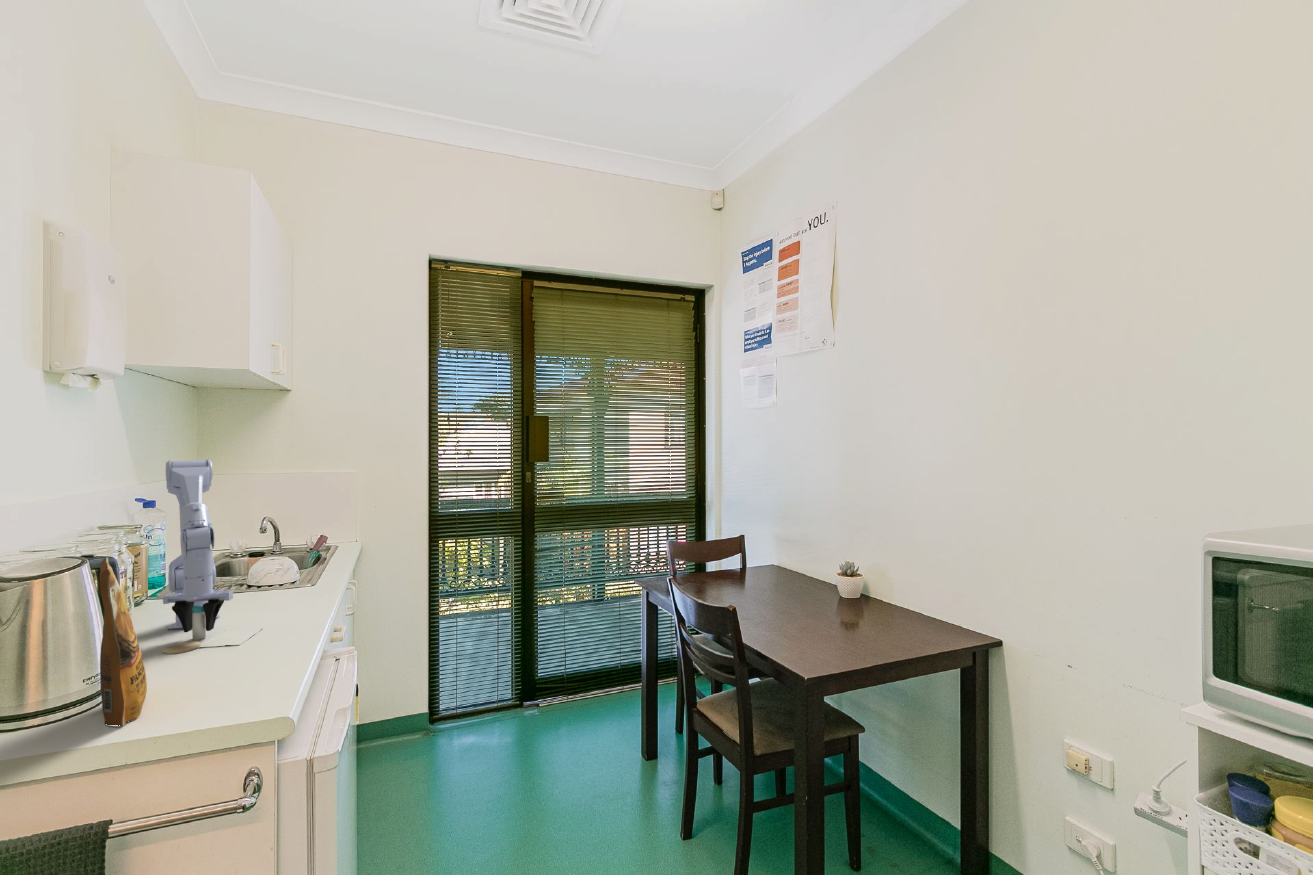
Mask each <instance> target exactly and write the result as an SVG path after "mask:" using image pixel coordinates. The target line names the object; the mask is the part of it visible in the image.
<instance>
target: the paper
mask: <svg viewBox="0 0 1313 875" xmlns="http://www.w3.org/2000/svg"><path fill="white" fill-rule="evenodd" d="M225 631H226V630H224V632H225ZM221 633H222V632H220V633H219V634H221ZM215 639H216V640H215ZM217 639H218V640H217ZM232 639H233V640H232ZM235 639H240V640H235ZM241 639H248V640H250V639H249V638H232V637H231V638H230V637H229V638H228V637H227V638H217V637H215V636H213V637H212V638H210V639H209V640H207V641H206V642H204V643H201V646H199V647H207V648H218V647H217V645H219V646H222V647H226V646H225V645H238V646H241V645H240V644H234V643H243V642H238V641H245V642H247V641H246V640H241ZM217 641H218V642H217ZM222 641H225V642H222ZM232 641H237V642H232ZM214 643H216V644H214ZM223 643H224V644H223ZM225 643H226V644H225ZM232 643H233V644H232ZM243 644H244V643H243ZM213 645H214V646H213ZM215 645H216V646H215ZM199 647H198V648H197V649H200V648H199Z"/></svg>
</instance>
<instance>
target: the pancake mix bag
mask: <svg viewBox="0 0 1313 875" xmlns="http://www.w3.org/2000/svg"><path fill="white" fill-rule="evenodd" d="M99 568H100V572H99V588H100V590H99V591H100V596H101V600H102V601H101V602H102V606H103V611H104V618H103V619H104V620H103V625H102V639H101V643H100V644H101V645H100V652H99V653H100V655H99V656H100V658H99V675H100V681H99V682H100V695H101V696H100V697H101V705H102V706H101V707H102V714H103V717H104V724H107V725H118V726H119V725H120V726H121V727H124V726H125V725H126V724H127V723H126V722H128V721H130V722H132V720H133V721H135V720H137V719H138V718H139V717H140V716H141V713H142V709H143V705H144V702H145V700H144V699H146V695H147V691H148V688H147V686H148V684H147V674H146V667H145V664H144V659H143V654H142V651H141V647H140V643H139V641H137V640H138V637H137V634H136V631H135V627H134V624H133V621H132V616H131V614H130V612H129V610H128V606H127V602H126V600H125V596H124V594H123V591H122V589H121V586H120V584H119V582H118V580H117V577H116V575H115V573H114V571H113V567H112V566H111V565H110V563H109V556H105V557H104V559H103V560H102V561H100V563H99ZM138 643H139V644H138ZM139 715H140V716H139ZM138 716H139V717H138ZM134 719H135V720H134ZM125 723H126V724H125ZM128 723H129V722H128ZM124 724H125V725H124ZM123 725H124V726H123Z"/></svg>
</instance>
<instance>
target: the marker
mask: <svg viewBox="0 0 1313 875" xmlns="http://www.w3.org/2000/svg"><path fill="white" fill-rule="evenodd" d="M191 632H192V641H200V639H201V640H203V638H204V639H206V638H205V637H206V636H207V634H206V632H207V631H206V623H205V612H204V608H203V605H197V606H193V607H192V630H191Z"/></svg>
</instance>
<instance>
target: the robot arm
mask: <svg viewBox="0 0 1313 875" xmlns="http://www.w3.org/2000/svg"><path fill="white" fill-rule="evenodd" d="M213 469H214V468H213V462H212V460H210V458H209V459H208V458H207V459H192V460H188V459H187V460H167V461H166V462H165V481H166V482H165V483H166V489H167V493H169V494H171V495H175V496H176V499H177V503H178V505H179V506H178V507H179V527H180V531H179V532H180V535H179V536H180V537H179V539H180V540H179V541H180V543H179V544H180V555H179V556H178V557H176V558H174V559H173V560H172V561H170V563H169V564H168V572H167V573H168V576H167V579H168V580H167V583H168V590H169V592H171V593H168V594H165V595H163V596H162V604H163V605H168V604H172V603H173V605H172V606H171V609H172V611H173V612H174V613H175V623H173V624H172V625H169V626H168V627H167V629H168V630H173V629H174V630H175V629H182V630H183V633H188V632H190V631H192V607H193V606H197V605H203V608H204V612H205V623H206V632H210V631H212V630H213V629H214V628H215V623H216V620H217V619H218V618H220V617H221V615H220V614H219V611H220V610H221V607H222V606H223V604H224V603H225V601H227V602H228V601H231V600H233V599H234V591H233V590H214V586H215V585H216V583H217V569H216V568H217V567H216V564H215V559H214V558H213V549H214V548H215V544H216V535H215V529H214V527H213V523H212V522H211V520H210V511H209V510H210V509H209V507H208V506H207V505H206V504H204V503H203V494H204V493H206V492H208V491H209V490H210V487H211V485H212V480H213V476H214V474H213V473H214V471H213Z"/></svg>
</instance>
